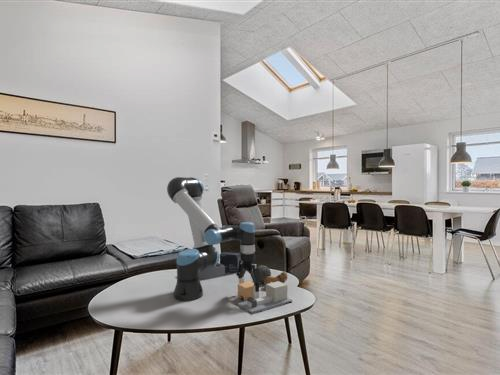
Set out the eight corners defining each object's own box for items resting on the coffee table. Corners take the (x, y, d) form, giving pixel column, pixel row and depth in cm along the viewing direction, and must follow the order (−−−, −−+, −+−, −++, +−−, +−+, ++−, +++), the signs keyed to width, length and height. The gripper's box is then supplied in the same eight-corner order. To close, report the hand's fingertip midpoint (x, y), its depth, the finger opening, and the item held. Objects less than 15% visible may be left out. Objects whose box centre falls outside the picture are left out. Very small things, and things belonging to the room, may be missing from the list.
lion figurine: (286, 286, 169) (286, 270, 169) (288, 289, 164) (288, 273, 164) (261, 286, 168) (261, 271, 168) (262, 290, 163) (262, 274, 163)
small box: (241, 270, 202) (240, 252, 202) (237, 273, 196) (237, 255, 196) (223, 268, 206) (223, 251, 206) (219, 271, 199) (219, 254, 199)
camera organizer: (183, 275, 191) (183, 266, 191) (213, 269, 204) (213, 261, 204) (193, 281, 178) (193, 271, 178) (225, 275, 190) (224, 266, 190)
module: (237, 297, 152) (237, 284, 152) (250, 294, 156) (250, 281, 156) (245, 302, 146) (245, 287, 146) (258, 298, 151) (258, 284, 151)
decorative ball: (256, 285, 170) (256, 268, 170) (252, 280, 180) (252, 264, 180) (273, 284, 173) (273, 267, 173) (268, 279, 182) (268, 262, 182)
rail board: (238, 305, 142) (238, 288, 142) (276, 294, 155) (276, 279, 155) (252, 313, 132) (252, 296, 132) (292, 302, 145) (292, 285, 145)
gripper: (229, 249, 160) (230, 288, 159) (255, 258, 139) (256, 303, 139) (241, 248, 164) (242, 286, 163) (268, 255, 143) (269, 299, 143)
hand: (248, 294), depth 151 cm, fingers open, 13 cm apart
